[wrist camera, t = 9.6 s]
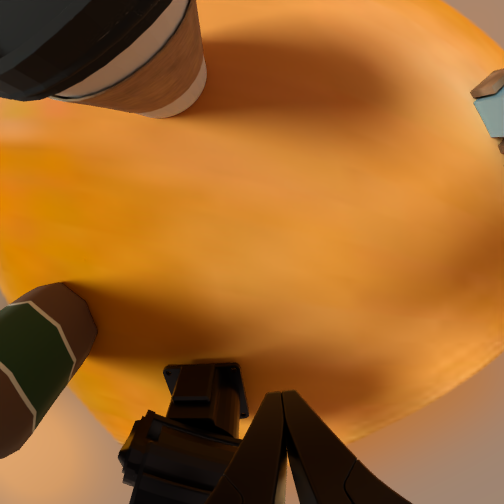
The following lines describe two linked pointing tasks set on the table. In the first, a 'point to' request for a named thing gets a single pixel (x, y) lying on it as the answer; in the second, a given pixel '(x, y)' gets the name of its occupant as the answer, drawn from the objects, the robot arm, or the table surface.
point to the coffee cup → (103, 53)
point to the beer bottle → (39, 357)
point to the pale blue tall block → (492, 112)
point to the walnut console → (491, 90)
